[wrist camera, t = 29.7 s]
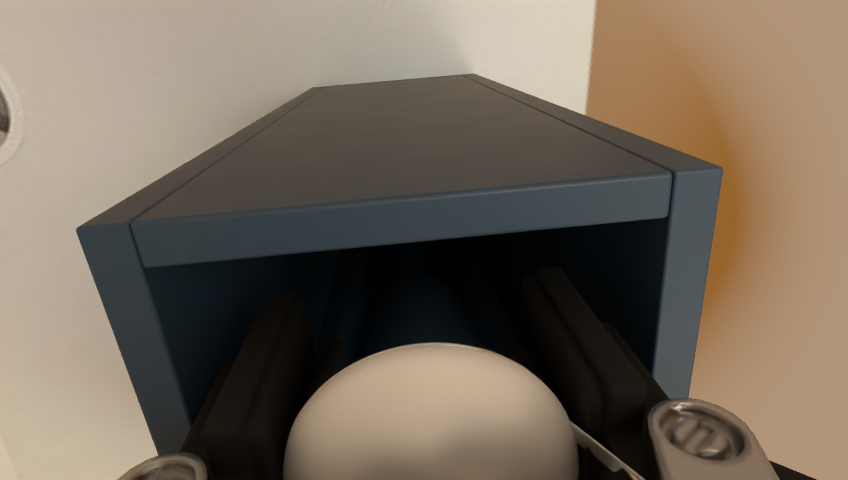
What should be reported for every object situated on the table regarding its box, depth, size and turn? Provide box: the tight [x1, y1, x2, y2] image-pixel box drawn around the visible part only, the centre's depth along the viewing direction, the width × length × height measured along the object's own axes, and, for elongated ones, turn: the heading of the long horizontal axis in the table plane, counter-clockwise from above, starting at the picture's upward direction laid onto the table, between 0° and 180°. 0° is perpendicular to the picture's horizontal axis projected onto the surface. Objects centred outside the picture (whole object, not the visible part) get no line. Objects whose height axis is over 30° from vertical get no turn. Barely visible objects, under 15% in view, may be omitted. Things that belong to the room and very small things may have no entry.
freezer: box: [76, 74, 723, 455], centre depth 21 cm, size 10×10×25 cm
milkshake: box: [283, 237, 646, 480], centre depth 10 cm, size 4×5×10 cm
